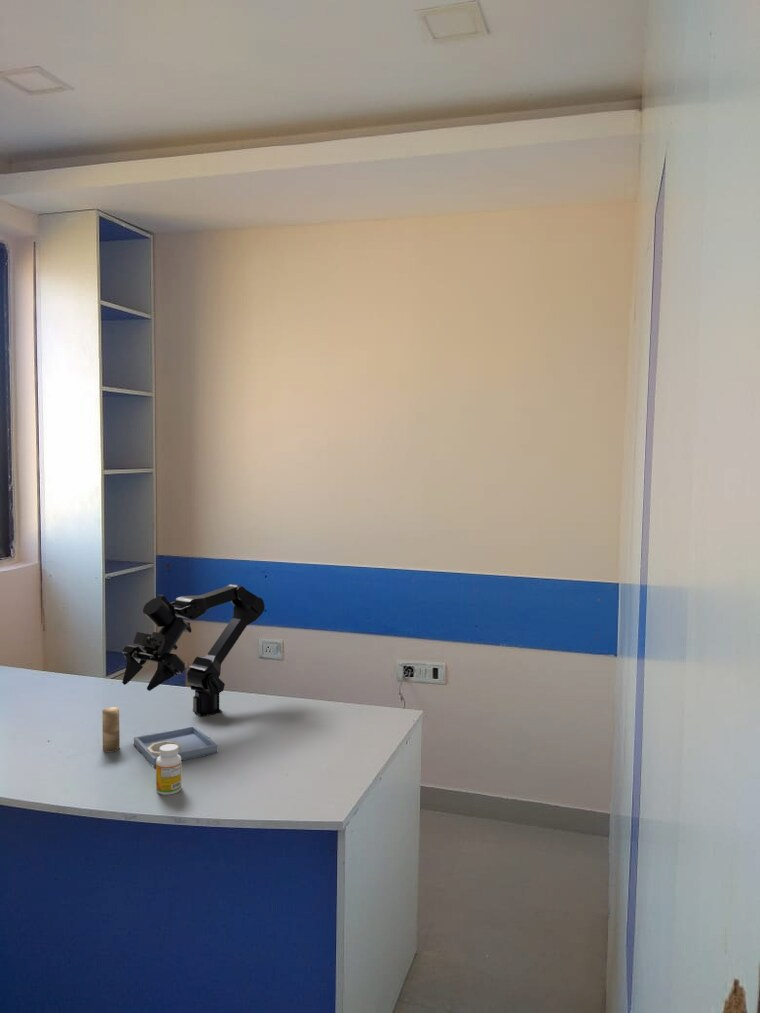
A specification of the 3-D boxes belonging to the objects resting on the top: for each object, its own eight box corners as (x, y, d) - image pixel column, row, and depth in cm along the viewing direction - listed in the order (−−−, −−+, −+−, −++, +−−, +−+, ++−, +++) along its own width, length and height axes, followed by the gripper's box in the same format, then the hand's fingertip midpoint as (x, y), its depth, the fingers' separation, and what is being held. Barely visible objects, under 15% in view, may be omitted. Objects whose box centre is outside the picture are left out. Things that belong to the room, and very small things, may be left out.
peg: (117, 744, 193) (116, 706, 193) (121, 749, 190) (121, 710, 189) (100, 747, 191) (100, 709, 190) (105, 753, 188) (104, 713, 187)
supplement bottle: (159, 784, 170) (158, 742, 170) (183, 784, 171) (183, 742, 170) (153, 795, 165) (153, 752, 164) (179, 795, 165) (179, 751, 165)
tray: (194, 732, 202) (194, 723, 202) (217, 752, 189) (217, 742, 189) (133, 744, 193) (133, 735, 193) (153, 766, 180) (153, 756, 180)
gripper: (127, 615, 205) (93, 664, 196) (177, 624, 195) (143, 676, 187) (150, 638, 212) (118, 687, 203) (199, 648, 202) (167, 699, 194)
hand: (135, 686), depth 197 cm, fingers open, 9 cm apart
